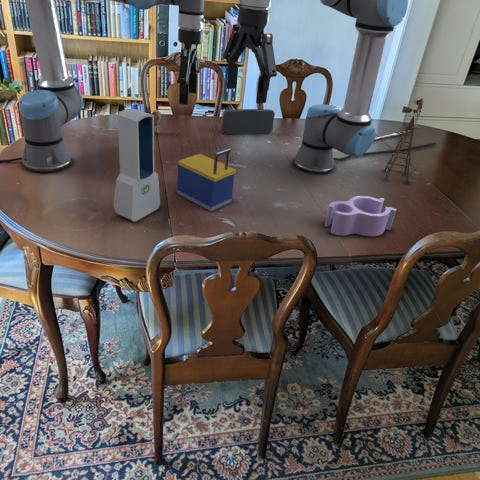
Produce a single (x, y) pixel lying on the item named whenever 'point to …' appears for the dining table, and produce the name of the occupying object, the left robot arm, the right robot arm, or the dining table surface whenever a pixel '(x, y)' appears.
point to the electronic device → (136, 166)
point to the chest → (204, 189)
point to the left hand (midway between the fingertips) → (188, 98)
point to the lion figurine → (156, 117)
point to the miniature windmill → (411, 127)
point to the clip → (359, 216)
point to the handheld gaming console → (247, 121)
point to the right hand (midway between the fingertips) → (245, 95)
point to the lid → (209, 165)
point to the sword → (389, 135)
